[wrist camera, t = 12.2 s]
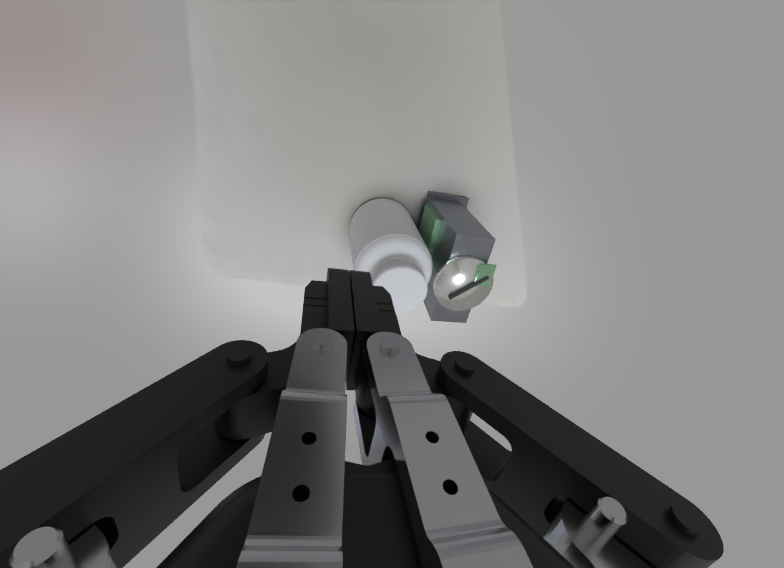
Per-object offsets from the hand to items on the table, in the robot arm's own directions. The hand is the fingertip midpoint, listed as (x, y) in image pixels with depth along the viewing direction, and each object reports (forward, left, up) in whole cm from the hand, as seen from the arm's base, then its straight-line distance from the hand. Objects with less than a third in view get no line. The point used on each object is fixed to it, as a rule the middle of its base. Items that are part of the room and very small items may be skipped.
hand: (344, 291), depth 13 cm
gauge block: (+16, -6, -31) cm, 35 cm away
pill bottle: (+9, -7, -31) cm, 33 cm away
